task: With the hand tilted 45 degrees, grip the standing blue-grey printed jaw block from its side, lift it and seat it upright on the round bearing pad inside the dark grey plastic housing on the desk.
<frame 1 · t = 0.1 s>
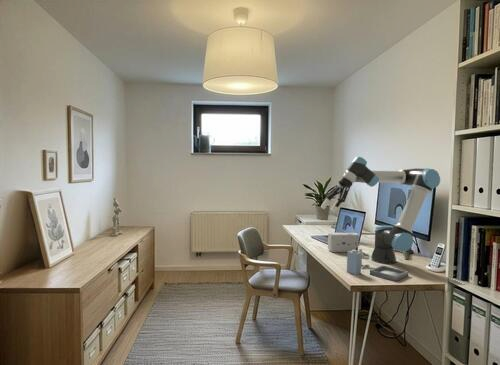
hand: (327, 209, 194), 36 cm above the table, tool tilted 35°, fingers open, 13 cm apart
housing: (388, 275, 188), on the table
jaw block: (353, 272, 191), on the table
stereo radio cassette player: (343, 251, 240), on the table
pipe connector: (360, 265, 207), on the table
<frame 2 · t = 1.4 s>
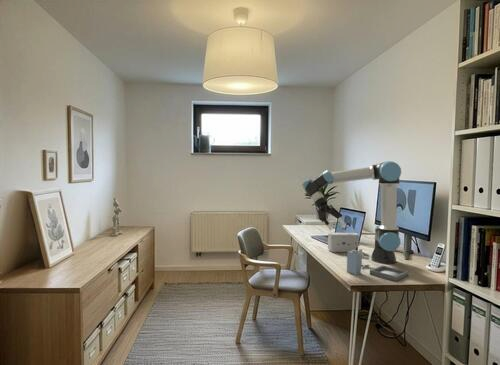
hand: (338, 227, 198), 24 cm above the table, tool tilted 45°, fingers open, 13 cm apart
nothing on the table moved.
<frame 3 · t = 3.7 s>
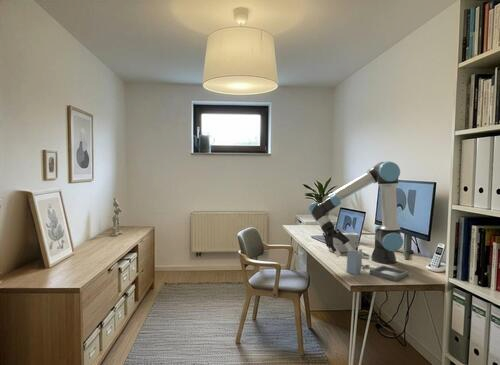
hand: (346, 254, 194), 10 cm above the table, tool tilted 45°, fingers open, 13 cm apart
nothing on the table moved.
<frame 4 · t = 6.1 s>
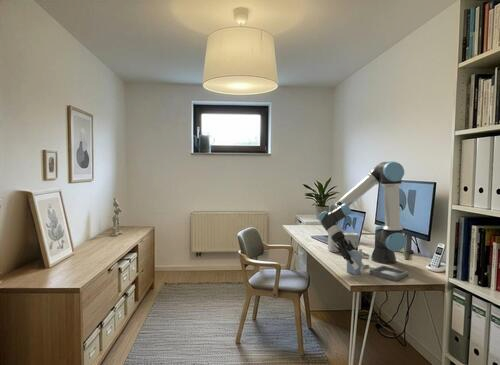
hand: (359, 267, 188), 4 cm above the table, tool tilted 45°, fingers closed on jaw block, 5 cm apart
jaw block: (353, 272, 191), on the table, touching gripper
everything else where it was.
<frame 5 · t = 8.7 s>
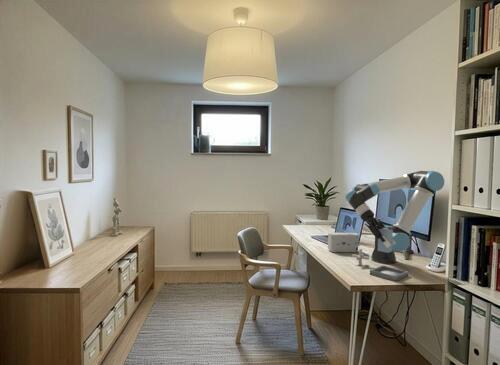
hand: (391, 245, 185), 18 cm above the table, tool tilted 45°, fingers closed on jaw block, 5 cm apart
jaw block: (384, 250, 188), point 14 cm above the table, touching gripper
everything else where it was.
when the fingers open (6 cm above the table, at t = 11.4 s): jaw block drops 1 cm, resting on housing.
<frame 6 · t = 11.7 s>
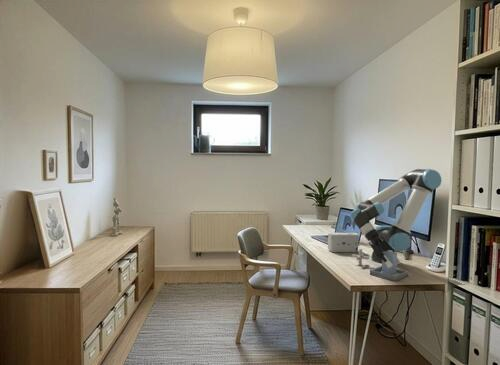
hand: (394, 265, 185), 7 cm above the table, tool tilted 45°, fingers open, 9 cm apart
jaw block: (388, 273, 188), point 1 cm above the table, touching housing
everything else where it was.
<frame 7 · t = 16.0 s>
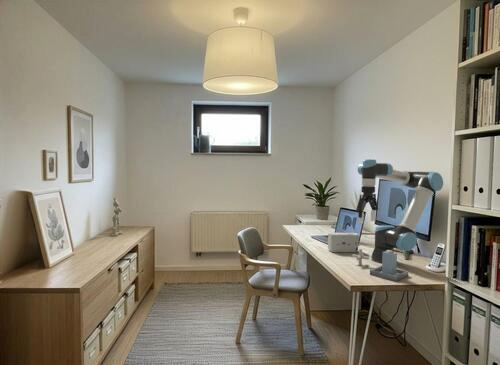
hand: (366, 222, 194), 29 cm above the table, tool pointing down, fingers open, 13 cm apart
nothing on the table moved.
at the end: jaw block inside the target area on the housing (0.0 cm from its centre), point 1.0 cm above the housing's base; jaw block tilted 0°; the gripper is holding nothing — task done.
